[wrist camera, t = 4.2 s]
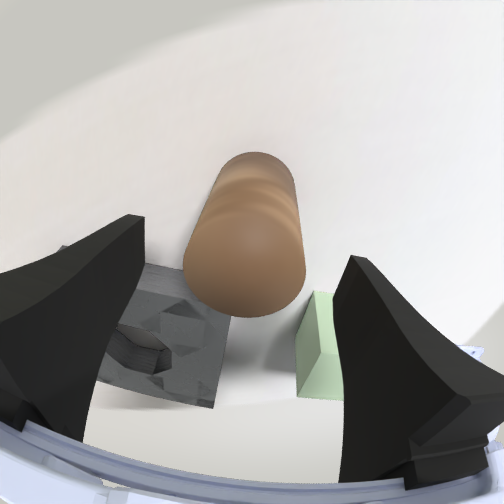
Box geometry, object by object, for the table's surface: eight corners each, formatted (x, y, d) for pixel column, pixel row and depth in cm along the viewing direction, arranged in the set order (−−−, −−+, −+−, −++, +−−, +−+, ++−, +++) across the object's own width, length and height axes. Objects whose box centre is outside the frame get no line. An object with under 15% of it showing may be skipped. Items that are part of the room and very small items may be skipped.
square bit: (377, 300, 20) (396, 359, 16) (353, 344, 22) (363, 401, 18) (313, 289, 20) (321, 352, 16) (294, 337, 22) (296, 397, 18)
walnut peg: (303, 161, 15) (321, 233, 9) (285, 230, 18) (288, 325, 12) (222, 145, 15) (187, 207, 9) (211, 216, 17) (180, 305, 12)
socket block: (237, 280, 20) (232, 308, 18) (216, 385, 26) (213, 408, 24) (62, 245, 19) (44, 266, 17) (88, 354, 26) (79, 374, 24)
